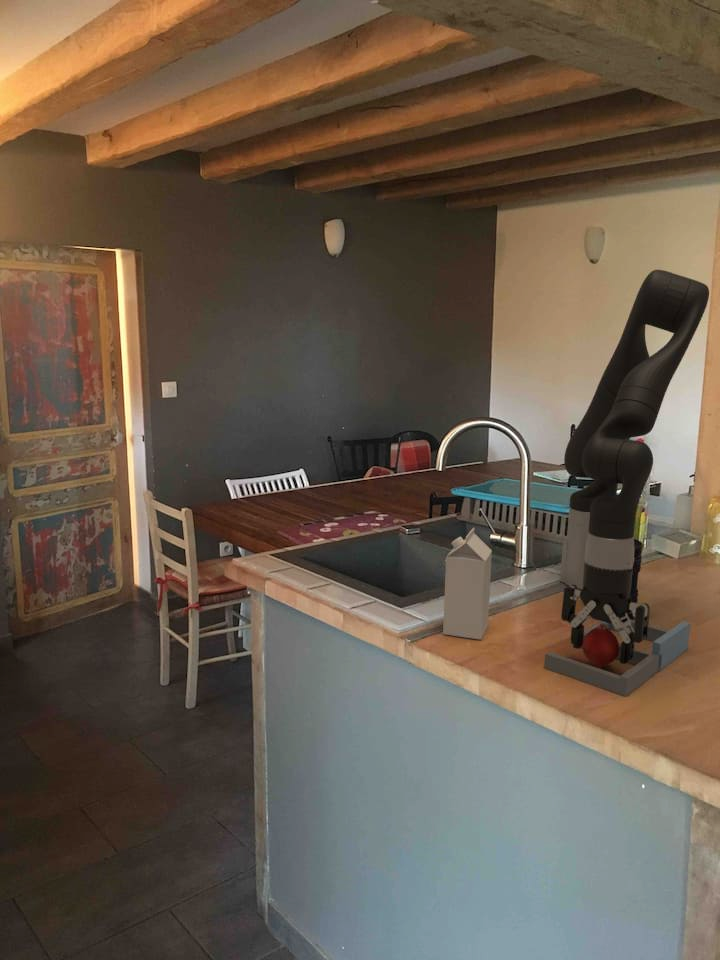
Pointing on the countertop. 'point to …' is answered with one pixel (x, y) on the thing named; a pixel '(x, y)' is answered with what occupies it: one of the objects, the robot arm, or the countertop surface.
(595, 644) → the pomegranate
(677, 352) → the robot arm
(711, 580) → the countertop surface
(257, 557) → the countertop surface
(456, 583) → the milk carton
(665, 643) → the channel organiser
